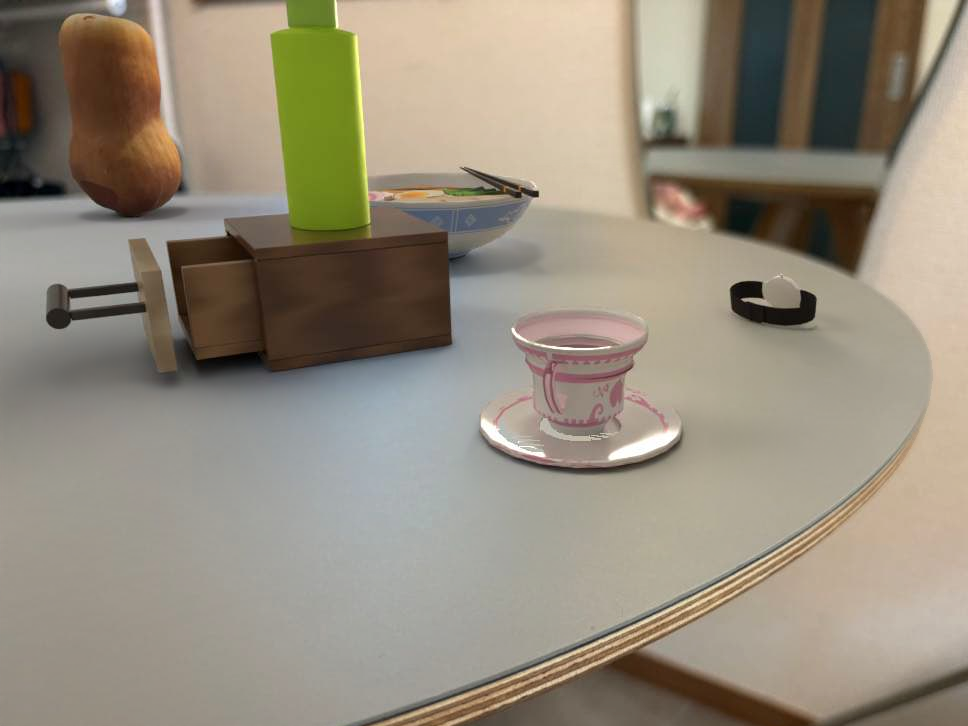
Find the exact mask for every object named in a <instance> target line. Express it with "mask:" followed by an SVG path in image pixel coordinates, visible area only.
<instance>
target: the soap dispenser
mask: <svg viewBox="0 0 968 726" xmlns="http://www.w3.org/2000/svg"><path fill="white" fill-rule="evenodd" d="M285 7H286V19H287V26H288V28H285V29H280V30H276V31H274V32H271V33H269V36H270V47H271V57H272V65H273V74H274V75H273V76H274V84H275V93H276V94H275V95H276V104H277V111H278V112H277V113H278V122H279V130H280V131H279V132H280V141H281V151H282V159H283V160H282V161H283V169H284V170H283V171H284V178H285V179H284V180H285V187H286V198H287V207H288V214H289V218H290V225H291V226H292V227H294V228H297V229H303V230H316V231H330V230H345V229H353V228H358V227H362V226H365V225H368V224H369V223H370V210H369V196H368V181H367V176H368V169H367V155H366V153H367V152H366V140H365V127H364V113H363V112H364V110H363V98H362V96H363V95H362V83H361V69H360V56H359V53H360V52H359V39H358V34H356V33H354V32H351V31H348V30H344V29H338V28H339V16H338V4H337V0H285Z"/></svg>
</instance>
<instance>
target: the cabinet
mask: <svg viewBox="0 0 968 726" xmlns="http://www.w3.org/2000/svg"><path fill="white" fill-rule="evenodd" d="M369 210H370V223H369V224H368V225H365V226H362V227H358V228H353V229H345V230H330V231H316V230H303V229H297V228H294V227H292V226H291V225H290V218H289V213H280V214H267V215H265V214H264V215H252V216H239V217H225V218H223V223H224V232H225V236H230V235H232V236H233V237H234V238H235V239H236V240H237V241H238V242H239V243H240V244H241V245H242V246H243V247H244V248H245V249H246V250H247V251H248V252H249V253H250V254H251V255H252V256H253V257H254V258H255V260H254V261H255V270H256V278H257V286H258V294H259V302H260V310H261V318H262V326H263V334H264V342H265V350H263V351H256V353H257V355H258V357H259V358H260V359H261V361H262V362H263V364H264V365H265V367H266V368H267V369H268V372H269V373H272V372H280V371H286V370H293V369H299V368H306V367H313V366H317V365H318V366H319V365H326V364H332V363H338V362H339V363H340V362H346V361H351V360H357V359H365V358H372V357H379V356H384V355H391V354H397V353H405V352H411V351H416V350H423V349H430V348H438V347H443V346H450V345H452V344H453V335H452V307H451V306H452V305H451V282H450V281H451V279H450V278H451V277H450V258H449V248H448V231H446V230H443V229H441V228H439V227H437V226H434V225H432V224H430V223H428V222H426V221H423V220H421V219H419V218H417V217H415V216H412V215H410V214H408V213H406V212H404V211H401V210H399V209H397V208H395V207H392V206H384V207H371V208H369Z"/></svg>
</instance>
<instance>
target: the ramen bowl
mask: <svg viewBox="0 0 968 726" xmlns="http://www.w3.org/2000/svg"><path fill="white" fill-rule="evenodd" d="M459 169H461V170H463V171H464V172H451V171H450V172H448V171H447V172H445V171H444V172H403V173H388V174H387V173H386V174H375V175H367V181H368V196H369V208H371V207H384V206H392V207H395V208H397V209H399V210H401V211H404V212H406V213H408V214H410V215H412V216H415V217H417V218H419V219H421V220H423V221H426V222H428V223H430V224H432V225H434V226H437V227H439V228H441V229H443V230H446V231H448V248H449V259H455V258H459V257H463V256H465V255H467V254H469V253H470V252H471V251H473V250H476V249H477V248H480V247H483V246H484V245H487V244H491V243H492V242H495V241H496V240H497V239H499V238H500V237H502V236H503V235H505V234H506V233H507V232H509V231H510V230H511V229H513V228H514V227H515V225H516V224H517V223H518V222H519V221H520V220H521V218H522V217H523V216H524V214H525V212H526V211H527V210H528V208H529V206H530V204H531V203H532V201H533V199H534V198H540V191H539V190H538V186H537V184H536V183H535V181H532V180H527V179H523V178H520V177H515V176H510V175H509V176H508V175H501V174H499V175H498V174H491V173H490V174H489V173H486V172H482V171H479V170H476V169H473V168H470V167H468V166H463V167H462V166H459Z"/></svg>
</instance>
